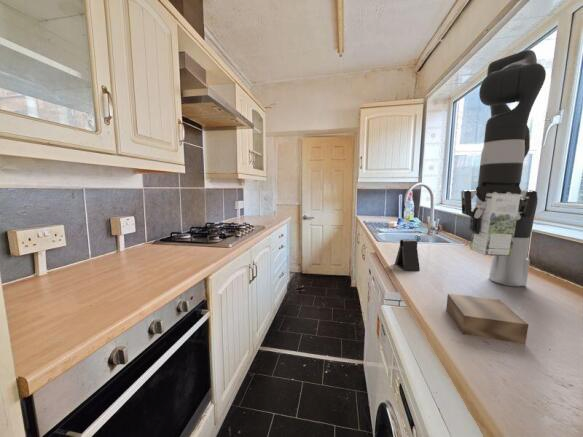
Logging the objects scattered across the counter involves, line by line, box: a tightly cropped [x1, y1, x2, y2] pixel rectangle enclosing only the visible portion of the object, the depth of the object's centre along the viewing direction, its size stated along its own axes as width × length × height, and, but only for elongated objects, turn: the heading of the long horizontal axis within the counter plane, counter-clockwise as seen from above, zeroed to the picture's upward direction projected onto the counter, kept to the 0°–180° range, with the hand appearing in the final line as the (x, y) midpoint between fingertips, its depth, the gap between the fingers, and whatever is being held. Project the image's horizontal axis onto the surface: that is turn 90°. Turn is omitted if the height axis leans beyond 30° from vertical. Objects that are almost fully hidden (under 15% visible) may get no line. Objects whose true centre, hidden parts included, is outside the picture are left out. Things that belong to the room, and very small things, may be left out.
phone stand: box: [394, 239, 421, 272], centre depth 102 cm, size 9×6×12 cm, turn 4°
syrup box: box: [469, 193, 520, 257], centre depth 57 cm, size 6×6×14 cm
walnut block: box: [445, 293, 529, 345], centre depth 61 cm, size 12×12×5 cm
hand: (492, 234), depth 58 cm, fingers closed on syrup box, 6 cm apart
